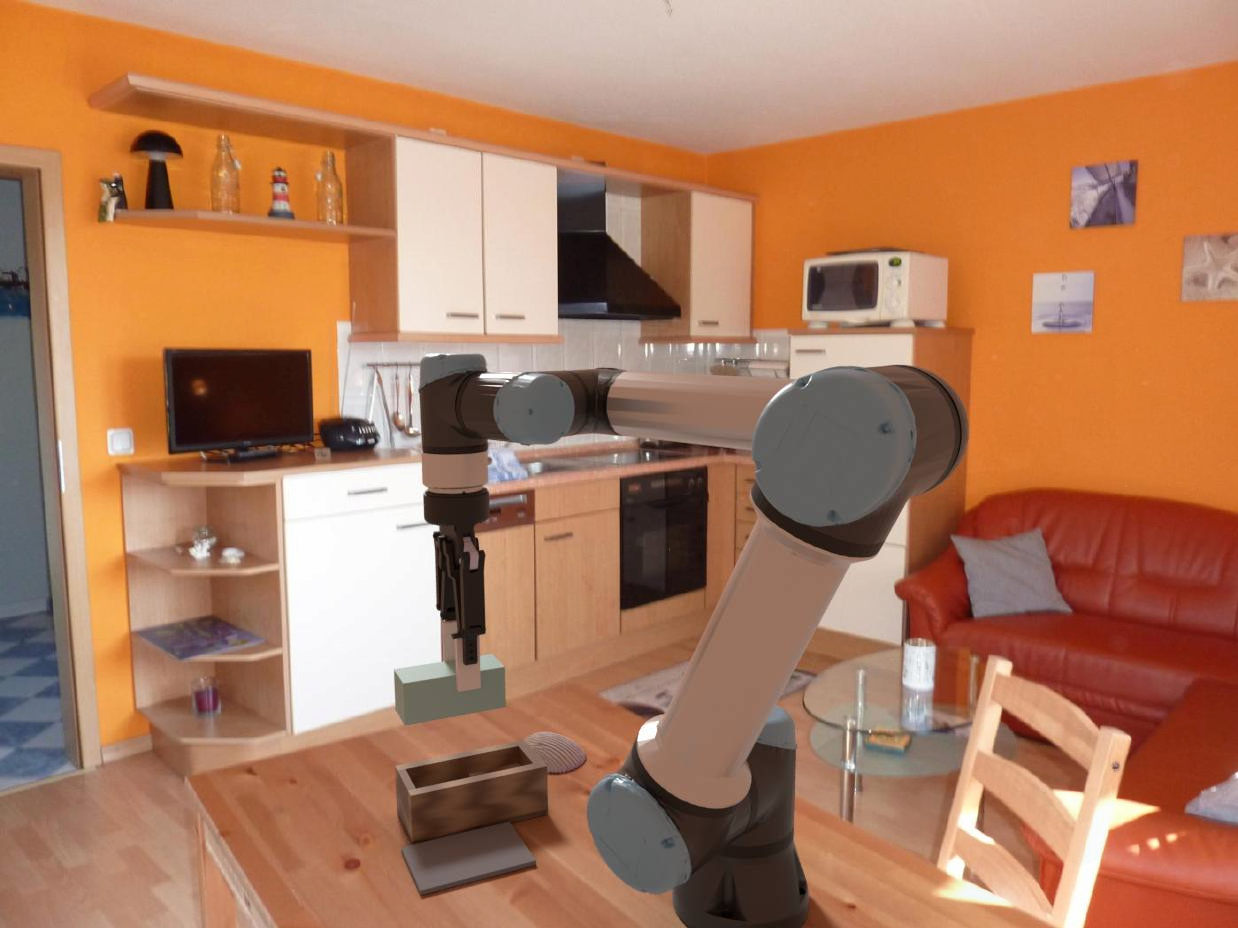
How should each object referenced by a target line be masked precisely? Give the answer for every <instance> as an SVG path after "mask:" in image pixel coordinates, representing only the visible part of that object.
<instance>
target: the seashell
mask: <svg viewBox="0 0 1238 928" xmlns="http://www.w3.org/2000/svg"><path fill="white" fill-rule="evenodd" d="M523 740H525V741H526V742H527V743H528V745H529V746H530V747H531V748H532V749H533V750H534V751H535V753H536V754H537V755H538V756H539V757H540V758H541V759H542V761H543V762H544V763H545V764H546V765H547V774H550V773H551V774H552V775H553V774H554V773H555V774H558V773H559V774H562V773H564V774H565V773H566V772H570V771H574V770H575V769H577V768H578V767H580V766H582V765H583V764H584V762H585V761H586V760H587V755H586V752H585V750H584V749H583V748H582V747H581V746H580V744H579V743H577V742H576V741H574V740H573V739H571V738H570V737H567V736H565V735H563V734H559V733H557V732H555V731H554V732H553V731H539V732H535V733H532V734H530V735H528V736H526V737H525V738H524V739H523Z"/></svg>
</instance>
